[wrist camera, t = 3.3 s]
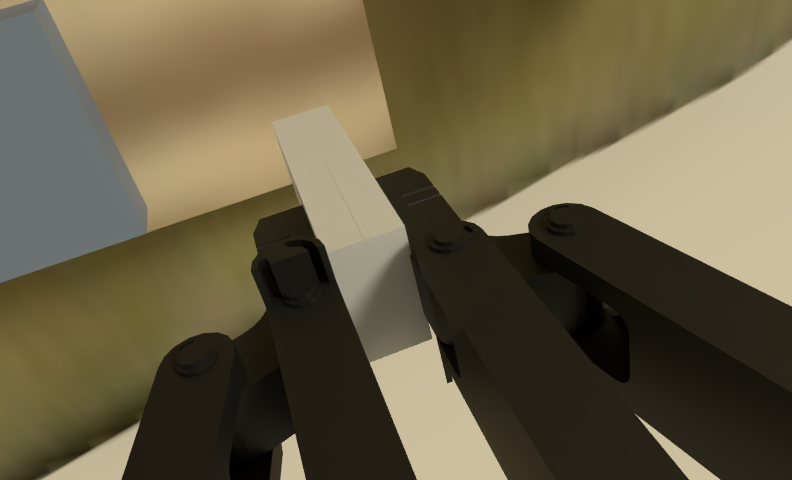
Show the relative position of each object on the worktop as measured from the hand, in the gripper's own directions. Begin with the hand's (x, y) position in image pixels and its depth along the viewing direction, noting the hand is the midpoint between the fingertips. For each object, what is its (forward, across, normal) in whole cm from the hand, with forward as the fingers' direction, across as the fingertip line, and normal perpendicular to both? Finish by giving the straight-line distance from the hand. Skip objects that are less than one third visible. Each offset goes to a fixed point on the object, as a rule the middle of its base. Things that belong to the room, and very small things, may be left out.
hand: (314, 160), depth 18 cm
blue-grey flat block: (+8, -9, 0) cm, 12 cm away
